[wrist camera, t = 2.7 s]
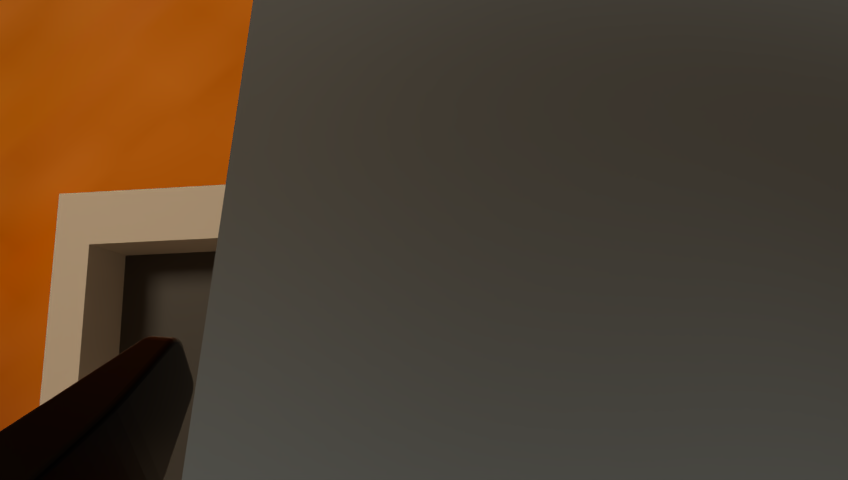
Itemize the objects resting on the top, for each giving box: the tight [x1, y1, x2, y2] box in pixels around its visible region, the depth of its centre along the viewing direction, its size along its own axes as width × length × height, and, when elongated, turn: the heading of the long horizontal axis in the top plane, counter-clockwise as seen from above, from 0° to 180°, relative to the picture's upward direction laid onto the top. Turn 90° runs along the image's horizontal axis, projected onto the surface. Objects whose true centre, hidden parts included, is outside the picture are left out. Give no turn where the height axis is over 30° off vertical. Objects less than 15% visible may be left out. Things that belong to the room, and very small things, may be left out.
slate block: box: [182, 0, 848, 480], centre depth 9 cm, size 4×4×12 cm
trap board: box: [40, 185, 226, 480], centre depth 16 cm, size 31×10×2 cm, turn 92°
